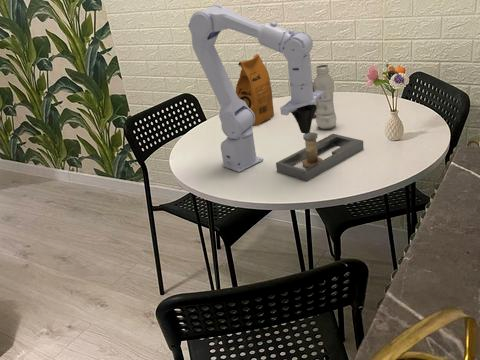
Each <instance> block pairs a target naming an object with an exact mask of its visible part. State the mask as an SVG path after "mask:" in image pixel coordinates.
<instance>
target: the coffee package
mask: <svg viewBox="0 0 480 360" xmlns="http://www.w3.org/2000/svg"><path fill="white" fill-rule="evenodd" d="M237 65H238V66H239V67H240V68H241V70H240V72H239V73H240V74H239V78H238V80H237V83H236V87H235V92H236V94H237V96H238V98H239V99H241V100H243V101H245V102H246V104H247V106H248V107H249V108H250V109H251V110H252V111H253V113H254V115H255V122H254V124H253V125H252V127H254V126H260V125H261V124H262V123H263V122H268V121H269V120H270V119H271V118H272V117H273V116H274V115H275V111H274V102H273V90H272V89H273V88H272V84H271V79H270V75H269V71H268V69H267V67H266V65H265V64H264V62H263V60H262V59H261V57H260V54H258V53H256V54H255V55H254V56H253V58H252V59H248V60H247V59H246V60H242V61H239V62H238V64H237Z"/></svg>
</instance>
